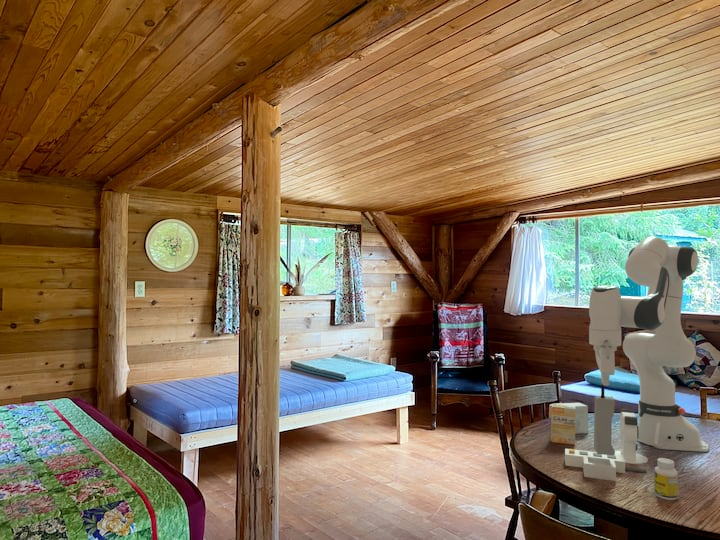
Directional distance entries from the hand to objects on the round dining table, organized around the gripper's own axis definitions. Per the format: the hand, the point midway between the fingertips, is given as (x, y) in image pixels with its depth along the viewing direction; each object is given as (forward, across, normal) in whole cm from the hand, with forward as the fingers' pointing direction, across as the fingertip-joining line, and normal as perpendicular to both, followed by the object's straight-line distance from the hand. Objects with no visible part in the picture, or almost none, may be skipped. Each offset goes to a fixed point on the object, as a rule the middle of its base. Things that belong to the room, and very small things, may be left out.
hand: (605, 384), depth 154 cm
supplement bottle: (+28, -10, -14) cm, 33 cm away
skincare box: (+28, +43, +9) cm, 52 cm away
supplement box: (+28, +28, +12) cm, 41 cm away
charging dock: (+27, +3, 0) cm, 27 cm away
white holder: (+28, +19, -8) cm, 34 cm away
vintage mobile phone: (+21, 0, 0) cm, 21 cm away
